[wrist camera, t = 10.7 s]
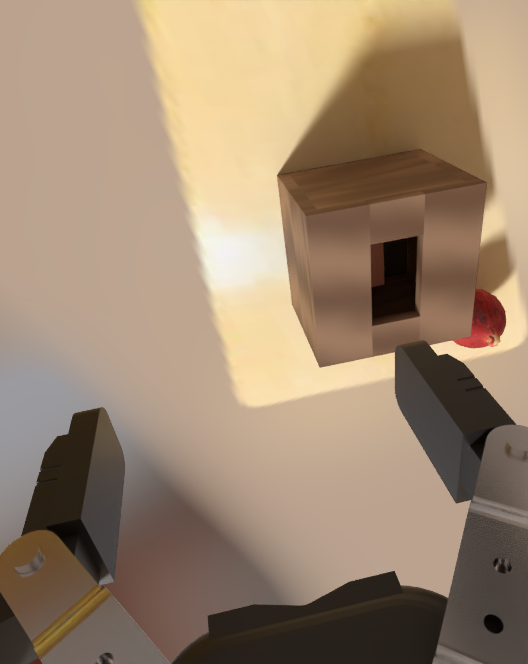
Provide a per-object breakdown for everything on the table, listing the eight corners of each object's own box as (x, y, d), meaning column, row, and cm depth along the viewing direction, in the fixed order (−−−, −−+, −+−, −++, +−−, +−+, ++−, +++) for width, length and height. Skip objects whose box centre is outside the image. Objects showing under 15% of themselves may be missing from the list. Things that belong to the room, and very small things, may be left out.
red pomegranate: (425, 289, 52) (463, 329, 46) (477, 267, 52) (523, 304, 45) (435, 332, 56) (471, 375, 49) (484, 312, 55) (528, 352, 48)
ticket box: (277, 175, 44) (306, 216, 34) (422, 148, 45) (489, 182, 35) (292, 304, 51) (319, 367, 41) (418, 279, 52) (472, 336, 42)
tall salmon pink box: (342, 267, 50) (338, 214, 47) (366, 262, 50) (363, 208, 47) (358, 290, 45) (355, 232, 42) (384, 284, 45) (382, 227, 43)
